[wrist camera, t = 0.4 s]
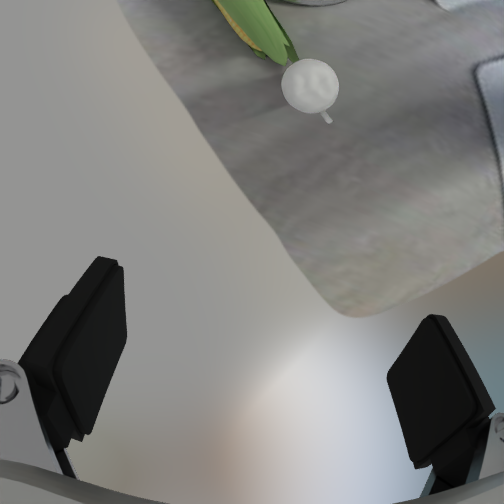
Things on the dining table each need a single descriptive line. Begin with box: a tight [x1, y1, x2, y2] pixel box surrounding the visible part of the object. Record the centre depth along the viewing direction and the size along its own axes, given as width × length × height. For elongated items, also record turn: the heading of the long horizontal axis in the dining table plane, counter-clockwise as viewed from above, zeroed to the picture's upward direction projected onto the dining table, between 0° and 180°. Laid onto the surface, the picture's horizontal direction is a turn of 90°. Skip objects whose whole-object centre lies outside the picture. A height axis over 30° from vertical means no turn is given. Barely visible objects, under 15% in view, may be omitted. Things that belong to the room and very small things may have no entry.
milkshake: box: [281, 59, 339, 124], centre depth 25 cm, size 4×5×10 cm
